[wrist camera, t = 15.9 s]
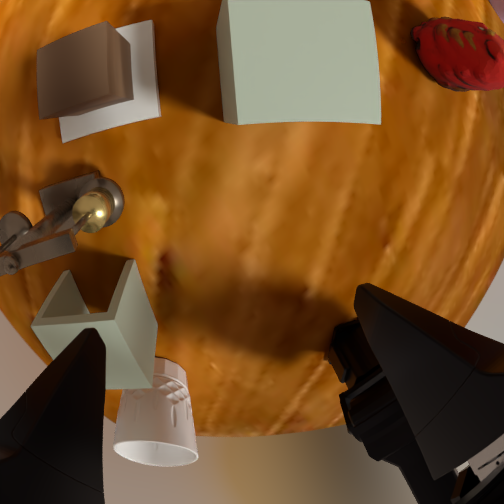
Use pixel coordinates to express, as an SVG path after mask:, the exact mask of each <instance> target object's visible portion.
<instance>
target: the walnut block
mask: <svg viewBox="0 0 504 504" xmlns="http://www.w3.org/2000/svg"><path fill="white" fill-rule="evenodd" d="M37 95H38V109H39V119H48V118H57V117H68V116H79V115H82V114H85V113H88V112H91V111H94V110H97V109H101V108H104V107H107V106H111V105H115V104H118V103H122V102H126V101H130V100H134V94H133V82H132V68H131V45H130V43H129V42H128V41H127V40H126V39H125V38H124V37H123V36H122V35H121V34H120V33H119V32H118V31H117V30H116V29H115V28H114V27H113V26H111V25H110V24H109V23H108V22H107V21H105V22H102V23H99V24H96V25H93V26H90V27H88V28H85V29H82V30H80V31H77V32H75V33H72V34H70V35H68V36H65V37H63V38H61V39H59V40H56V41H54V42H52V43H50V44H48V45H46V46H44V47H42V48H40V49H38V50H37Z"/></svg>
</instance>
